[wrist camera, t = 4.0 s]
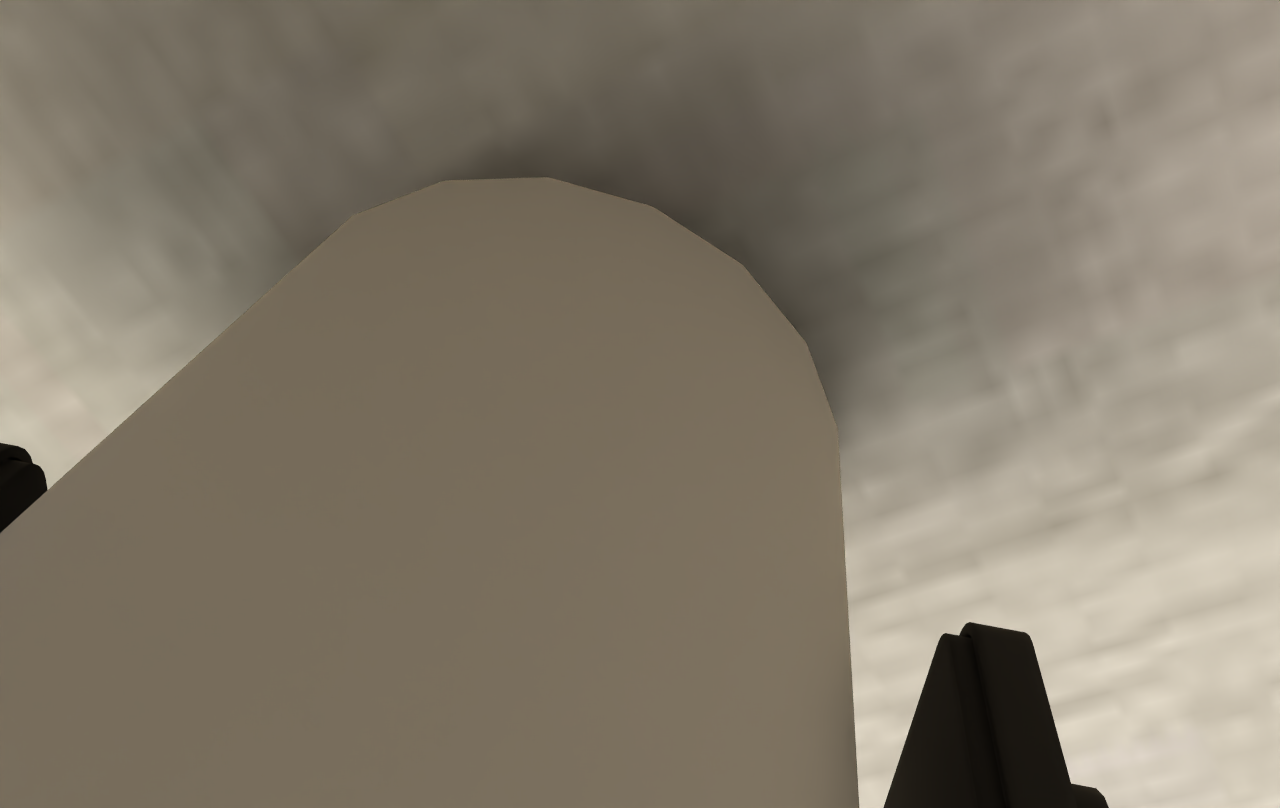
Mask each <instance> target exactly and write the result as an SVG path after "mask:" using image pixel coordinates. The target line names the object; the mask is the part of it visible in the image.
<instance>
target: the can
mask: <svg viewBox="0 0 1280 808" xmlns="http://www.w3.org/2000/svg"><path fill="white" fill-rule="evenodd" d="M0 808H859V795H858V778H857V760H856V742H855V724H854V707H853V689H852V671H851V653H850V636H849V618H848V600H847V582H846V565H845V547H844V529H843V511H842V494H841V476H840V458H839V440H838V428H837V425H836V423H835V420H834V417H833V414H832V412H831V409H830V406H829V403H828V401H827V398H826V395H825V392H824V390H823V387H822V384H821V381H820V379H819V376H818V373H817V371H816V368H815V365H814V362H813V360H812V357H811V354H810V351H809V349H808V346H807V343H806V342H805V340H804V339H803V338H802V337H801V336H800V334H799V333H798V332H797V331H796V329H795V328H794V327H793V326H792V325H791V323H790V322H789V321H788V320H787V318H786V317H785V316H784V315H783V314H782V312H781V311H780V310H779V309H778V307H777V306H776V305H775V304H774V303H773V301H772V300H771V299H770V298H769V296H768V295H767V294H766V293H765V292H764V290H763V289H762V288H761V287H760V285H759V284H758V283H757V282H756V280H755V279H754V278H753V277H752V276H751V274H750V273H749V272H748V271H747V269H746V268H745V267H744V266H743V265H742V264H741V263H739V262H738V261H736V260H735V259H733V258H731V257H730V256H728V255H727V254H725V253H724V252H722V251H721V250H719V249H718V248H716V247H714V246H713V245H711V244H710V243H708V242H707V241H705V240H704V239H702V238H701V237H699V236H697V235H696V234H694V233H693V232H691V231H690V230H688V229H687V228H685V227H684V226H682V225H680V224H679V223H677V222H676V221H674V220H673V219H671V218H670V217H668V216H667V215H665V214H663V213H662V212H660V211H659V210H657V209H656V208H654V207H653V206H649V205H645V204H642V203H638V202H635V201H631V200H628V199H624V198H621V197H617V196H614V195H610V194H606V193H603V192H599V191H596V190H592V189H589V188H585V187H582V186H578V185H574V184H571V183H567V182H564V181H560V180H557V179H553V178H550V177H536V178H506V179H476V180H447V181H441V182H439V183H436V184H433V185H431V186H428V187H426V188H423V189H420V190H418V191H415V192H412V193H410V194H407V195H405V196H402V197H399V198H397V199H394V200H392V201H389V202H386V203H384V204H381V205H378V206H376V207H373V208H371V209H368V210H365V211H363V212H360V213H358V214H355V215H353V216H352V217H350V218H349V219H348V220H347V221H346V222H345V223H344V224H343V225H342V226H340V227H339V228H338V229H337V230H336V231H335V232H334V233H333V234H331V235H330V236H329V237H328V238H327V239H326V240H325V241H324V242H323V243H321V244H320V245H319V246H318V247H317V248H316V249H315V250H314V251H312V252H311V253H310V254H309V255H308V256H307V257H306V258H305V259H304V260H302V261H301V262H300V263H299V264H298V265H297V266H296V267H295V268H294V269H292V270H291V271H290V272H289V273H288V274H287V275H286V276H285V277H283V278H282V279H281V280H280V281H279V282H278V283H277V284H276V285H275V286H274V287H272V288H271V289H270V290H269V291H268V292H267V293H266V294H265V295H264V296H262V297H261V298H260V299H259V300H258V301H257V302H256V303H255V304H254V305H252V306H251V307H250V308H249V309H248V310H247V311H246V312H245V313H244V314H242V315H241V316H240V317H239V318H238V319H237V320H236V321H235V322H234V323H233V324H231V325H230V326H229V327H228V328H227V329H226V330H225V331H224V332H223V333H221V334H220V335H219V336H218V337H217V338H216V339H215V340H214V341H213V342H211V343H210V344H209V345H208V346H207V347H206V348H205V349H204V350H203V351H201V352H200V353H199V354H198V355H197V356H196V357H195V358H194V359H193V360H192V361H190V362H189V363H188V364H187V365H186V366H185V367H184V368H183V369H182V370H180V371H179V372H178V373H177V374H176V375H175V376H174V377H173V378H172V379H170V380H169V381H168V382H167V383H166V384H165V385H164V386H163V387H162V388H160V389H159V390H158V391H157V392H156V393H155V394H154V395H153V396H152V397H151V398H149V399H148V400H147V401H146V402H145V403H144V404H143V405H142V406H141V407H139V408H138V409H137V410H136V411H135V412H134V413H133V414H132V415H131V416H129V417H128V418H127V419H126V420H125V421H124V422H123V423H122V424H121V425H119V426H118V427H117V428H116V429H115V430H114V431H113V432H112V433H111V434H110V435H108V436H107V437H106V438H105V439H104V440H103V441H102V442H101V443H100V444H98V445H97V446H96V447H95V448H94V449H93V450H92V451H91V452H90V453H88V454H87V455H86V456H85V457H84V458H83V459H82V460H81V461H80V462H78V463H77V464H76V465H75V466H74V467H73V468H72V469H71V470H70V471H69V472H67V473H66V474H65V475H64V476H63V477H62V478H61V479H60V480H59V481H57V482H56V483H55V484H54V485H53V486H52V487H51V488H50V489H49V490H47V491H46V492H45V493H44V494H43V495H42V496H41V497H40V498H39V499H37V500H36V501H35V502H34V503H33V504H32V505H31V506H30V507H29V508H28V509H26V510H25V511H24V512H23V513H22V514H21V515H20V516H19V517H18V518H16V519H15V520H14V521H13V522H12V523H11V524H10V525H9V526H8V527H6V528H5V529H4V530H3V531H2V532H1V533H0Z"/></svg>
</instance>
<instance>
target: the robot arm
mask: <svg viewBox="0 0 1280 808" xmlns="http://www.w3.org/2000/svg"><path fill="white" fill-rule="evenodd" d="M46 491H47V484H46V478H45V475H44V471H43V470H42V469H41V467H40V466H38V465H36V464H33V463H32V459H31V456H30V455H29V454H28V452H27V451H26V450H25V449H23V448H21V447H19V446H14V445H8V444H3V443H0V533H1V532H2V531H3V530H4V529H5V528H6V527H8V526H9V525H10V524H11V523H12V522H13V521H14V520H15V519H16V518H18V517H19V516H20V515H21V514H22V513H23V512H24V511H25V510H26V509H28V508H29V507H30V506H31V505H32V504H33V503H34V502H35V501H36V500H37V499H39V498H40V497H41V496H42V495H43V494H44V493H45V492H46ZM884 808H1109V807H1108V805H1107V802H1106V800H1105V798H1104V796H1103V795H1102V794H1101V793H1100V792H1099V791H1098V790H1097V789H1096V788H1091V787H1086V786H1081V785H1076V784H1071V782H1070V778H1069V775H1068V771H1067V767H1066V764H1065V760H1064V756H1063V753H1062V749H1061V745H1060V742H1059V738H1058V734H1057V731H1056V727H1055V723H1054V720H1053V716H1052V712H1051V709H1050V705H1049V701H1048V698H1047V694H1046V690H1045V687H1044V683H1043V679H1042V676H1041V672H1040V668H1039V665H1038V661H1037V657H1036V654H1035V650H1034V646H1033V643H1032V640H1031V638H1030V636H1029V635H1028V634H1027V633H1025V632H1019V631H1014V630H1009V629H1003V628H998V627H992V626H987V625H982V624H976V623H971V622H969V623H967V624H965V626H964V627H963V629H962V631H961V633H960V635H959V636H958V635H952V634H947V633H945V634H943V635H942V636H941V638H940V640H939V642H938V645H937V648H936V651H935V654H934V657H933V660H932V663H931V666H930V669H929V672H928V675H927V678H926V681H925V684H924V687H923V690H922V693H921V696H920V699H919V702H918V705H917V708H916V711H915V714H914V717H913V720H912V723H911V726H910V729H909V732H908V736H907V739H906V742H905V745H904V748H903V751H902V754H901V757H900V760H899V763H898V766H897V769H896V772H895V775H894V778H893V781H892V784H891V787H890V790H889V793H888V796H887V799H886V802H885V805H884Z"/></svg>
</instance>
